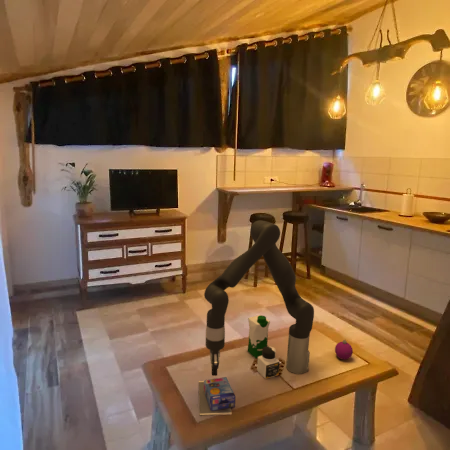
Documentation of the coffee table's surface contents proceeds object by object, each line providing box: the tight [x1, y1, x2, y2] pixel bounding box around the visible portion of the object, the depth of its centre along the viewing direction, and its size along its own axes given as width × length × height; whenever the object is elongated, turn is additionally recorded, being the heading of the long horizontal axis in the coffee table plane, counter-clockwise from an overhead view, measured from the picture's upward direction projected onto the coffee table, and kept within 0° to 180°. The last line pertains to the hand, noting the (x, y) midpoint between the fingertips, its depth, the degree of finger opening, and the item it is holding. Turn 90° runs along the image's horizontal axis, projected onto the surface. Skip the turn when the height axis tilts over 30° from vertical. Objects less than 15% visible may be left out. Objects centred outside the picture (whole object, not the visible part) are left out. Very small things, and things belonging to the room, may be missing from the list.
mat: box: [198, 380, 232, 417], centre depth 148 cm, size 12×20×1 cm, turn 5°
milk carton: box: [247, 314, 271, 359], centre depth 179 cm, size 9×9×20 cm
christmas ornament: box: [334, 339, 354, 360], centre depth 178 cm, size 8×8×10 cm
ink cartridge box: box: [203, 376, 236, 411], centre depth 145 cm, size 10×6×14 cm
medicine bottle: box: [256, 345, 280, 380], centre depth 164 cm, size 7×7×12 cm
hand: (214, 374), depth 148 cm, fingers closed
